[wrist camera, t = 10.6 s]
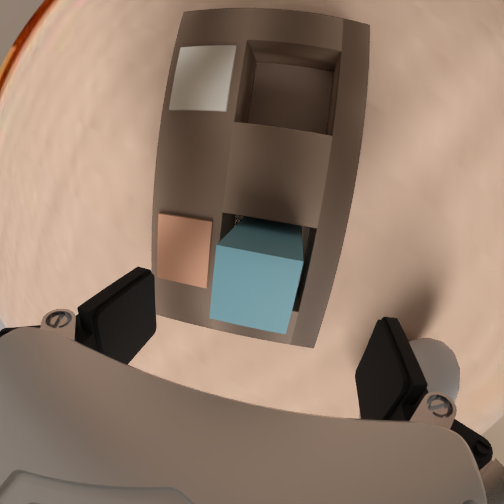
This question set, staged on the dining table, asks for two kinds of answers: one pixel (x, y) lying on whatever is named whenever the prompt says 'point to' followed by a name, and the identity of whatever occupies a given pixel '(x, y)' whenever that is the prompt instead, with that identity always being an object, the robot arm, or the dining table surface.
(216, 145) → the socket block
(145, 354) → the dining table surface
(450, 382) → the donut
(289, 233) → the plug
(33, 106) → the dining table surface
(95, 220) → the dining table surface
